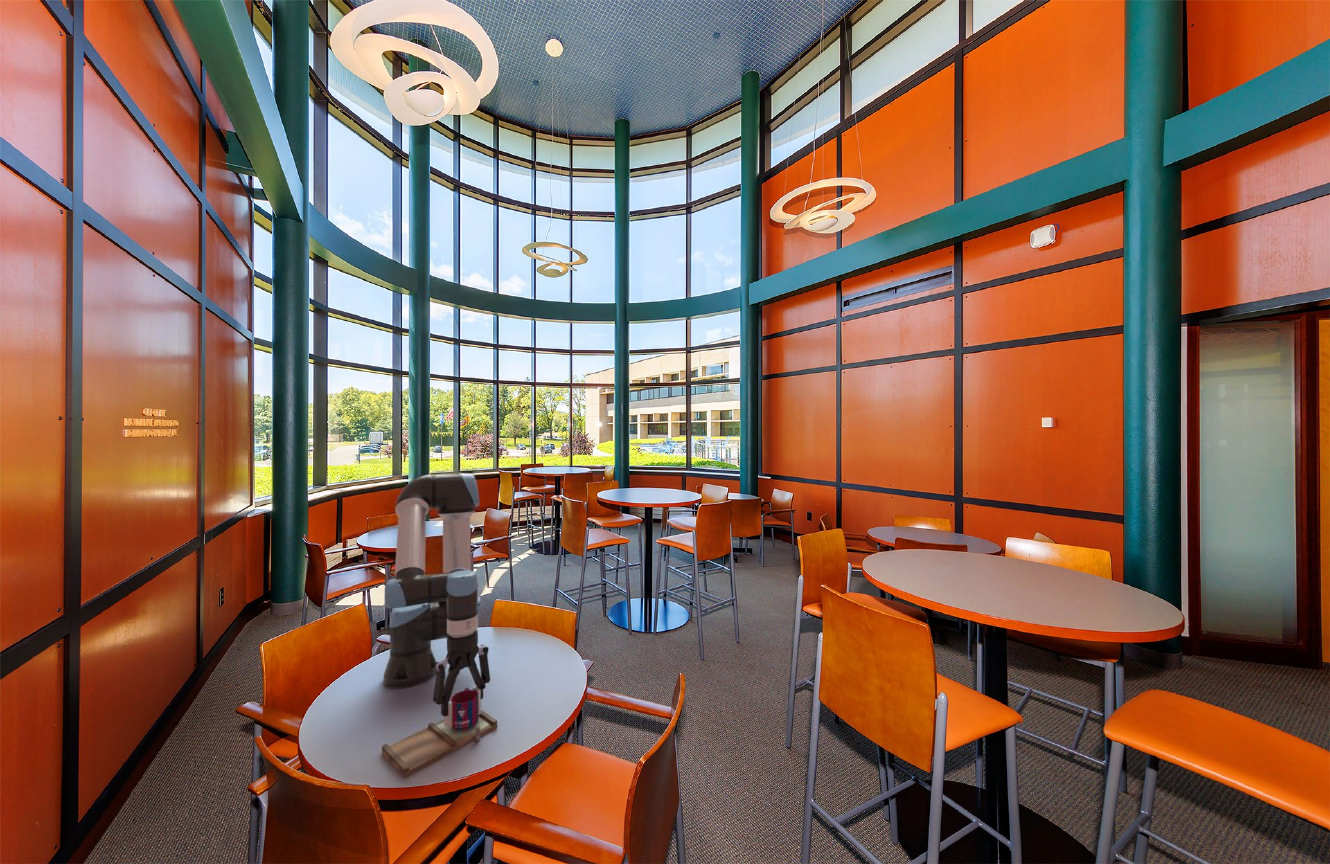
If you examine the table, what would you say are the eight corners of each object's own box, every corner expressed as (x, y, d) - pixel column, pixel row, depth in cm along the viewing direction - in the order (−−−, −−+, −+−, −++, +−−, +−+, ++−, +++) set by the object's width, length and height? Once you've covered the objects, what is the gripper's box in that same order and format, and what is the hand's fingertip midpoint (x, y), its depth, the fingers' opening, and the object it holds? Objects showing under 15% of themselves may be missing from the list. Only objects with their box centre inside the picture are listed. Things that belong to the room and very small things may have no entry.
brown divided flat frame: (381, 753, 113) (381, 740, 113) (471, 709, 131) (471, 698, 131) (407, 780, 104) (407, 766, 104) (500, 729, 121) (500, 718, 122)
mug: (447, 732, 117) (447, 704, 117) (457, 709, 127) (457, 684, 127) (475, 728, 118) (475, 701, 119) (483, 706, 128) (483, 681, 128)
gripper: (430, 649, 112) (430, 744, 112) (504, 623, 128) (504, 707, 127) (416, 641, 117) (417, 732, 117) (489, 616, 132) (490, 697, 132)
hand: (462, 719), depth 122 cm, fingers closed on mug, 7 cm apart
